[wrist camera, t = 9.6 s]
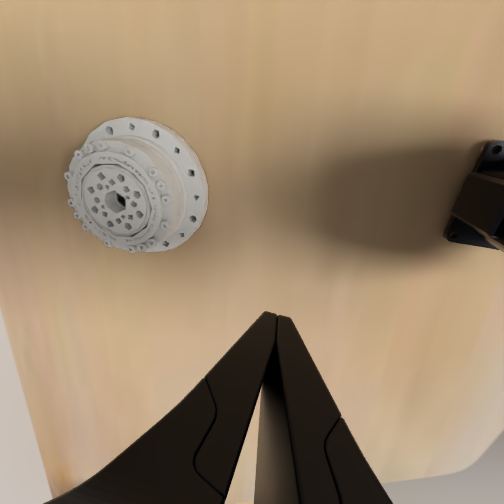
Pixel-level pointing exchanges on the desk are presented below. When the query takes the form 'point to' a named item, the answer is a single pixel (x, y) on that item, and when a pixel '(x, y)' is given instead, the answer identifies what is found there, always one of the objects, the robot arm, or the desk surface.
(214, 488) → the robot arm
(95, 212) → the mechanical component
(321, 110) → the desk surface
